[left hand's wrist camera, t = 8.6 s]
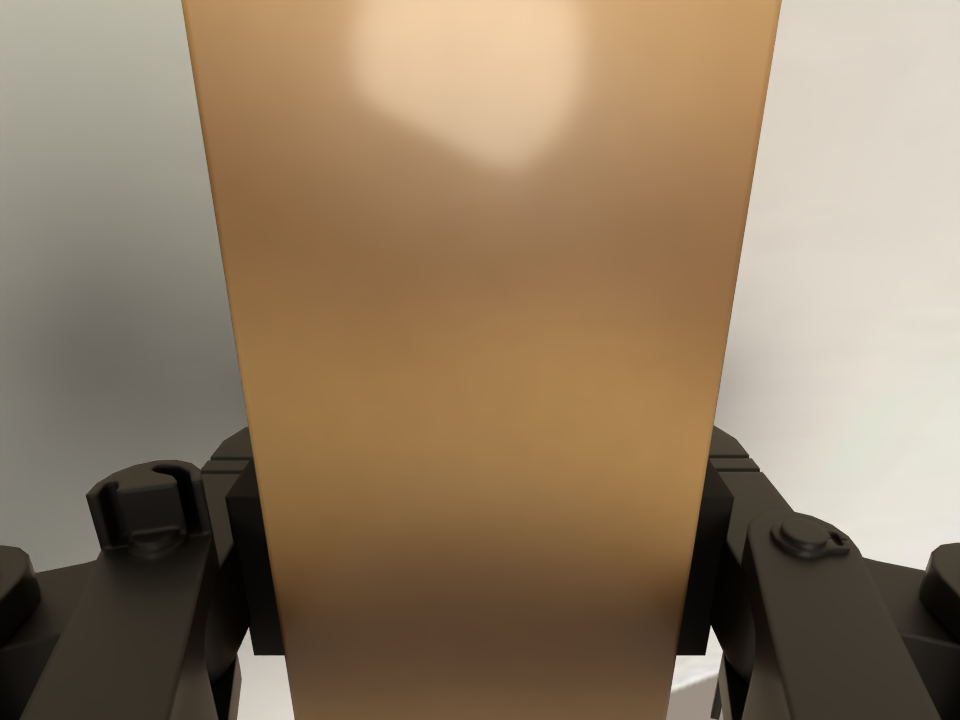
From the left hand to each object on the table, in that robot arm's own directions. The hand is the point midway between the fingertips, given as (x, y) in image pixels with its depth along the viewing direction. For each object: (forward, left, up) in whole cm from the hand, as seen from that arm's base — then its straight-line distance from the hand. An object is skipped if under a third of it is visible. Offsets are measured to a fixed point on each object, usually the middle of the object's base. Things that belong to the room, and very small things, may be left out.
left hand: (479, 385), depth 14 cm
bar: (+16, +28, -1) cm, 32 cm away
